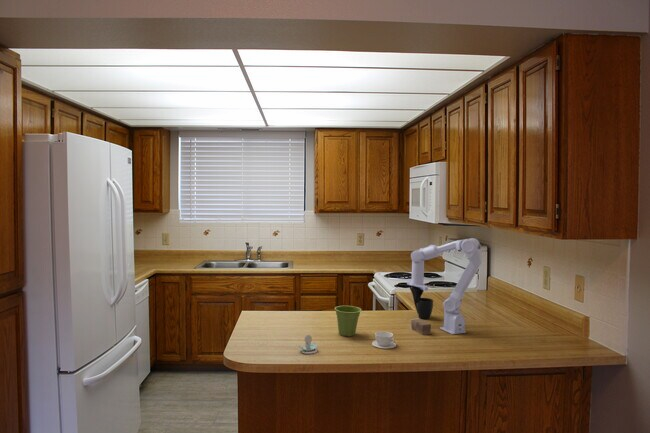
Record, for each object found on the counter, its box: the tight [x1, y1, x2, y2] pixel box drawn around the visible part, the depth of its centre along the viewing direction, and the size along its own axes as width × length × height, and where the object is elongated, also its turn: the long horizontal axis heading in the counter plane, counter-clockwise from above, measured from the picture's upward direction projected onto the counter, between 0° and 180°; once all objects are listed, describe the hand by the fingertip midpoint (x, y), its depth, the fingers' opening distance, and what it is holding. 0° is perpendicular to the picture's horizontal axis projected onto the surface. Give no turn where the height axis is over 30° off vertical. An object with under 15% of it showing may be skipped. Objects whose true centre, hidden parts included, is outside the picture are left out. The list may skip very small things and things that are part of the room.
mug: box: [413, 297, 434, 320], centre depth 214 cm, size 8×12×10 cm
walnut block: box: [410, 318, 432, 336], centre depth 190 cm, size 4×4×9 cm
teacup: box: [371, 330, 397, 349], centre depth 171 cm, size 10×10×5 cm
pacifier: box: [298, 334, 318, 355], centre depth 161 cm, size 7×6×6 cm
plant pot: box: [334, 305, 362, 337], centre depth 183 cm, size 12×12×11 cm
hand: (416, 302), depth 202 cm, fingers closed
